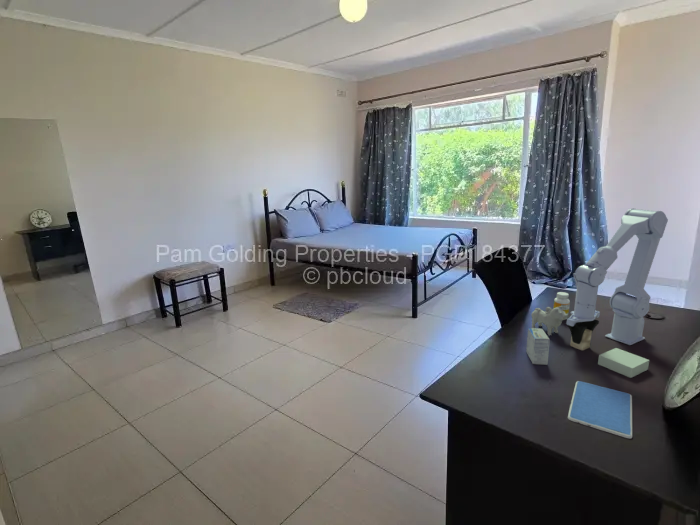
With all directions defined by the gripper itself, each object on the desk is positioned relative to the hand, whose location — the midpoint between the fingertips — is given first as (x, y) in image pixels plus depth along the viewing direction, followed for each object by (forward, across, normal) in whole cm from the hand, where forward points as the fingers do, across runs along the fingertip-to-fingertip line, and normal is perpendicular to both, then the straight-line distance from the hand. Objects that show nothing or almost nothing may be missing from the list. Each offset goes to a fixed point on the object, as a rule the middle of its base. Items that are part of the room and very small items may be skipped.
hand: (580, 341), depth 124 cm
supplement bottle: (+2, -18, -19) cm, 26 cm away
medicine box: (+2, +19, -2) cm, 19 cm away
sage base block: (+2, +2, +14) cm, 14 cm away
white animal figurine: (+2, -2, -13) cm, 13 cm away
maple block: (+2, 0, 0) cm, 2 cm away
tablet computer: (+3, +27, +22) cm, 35 cm away
